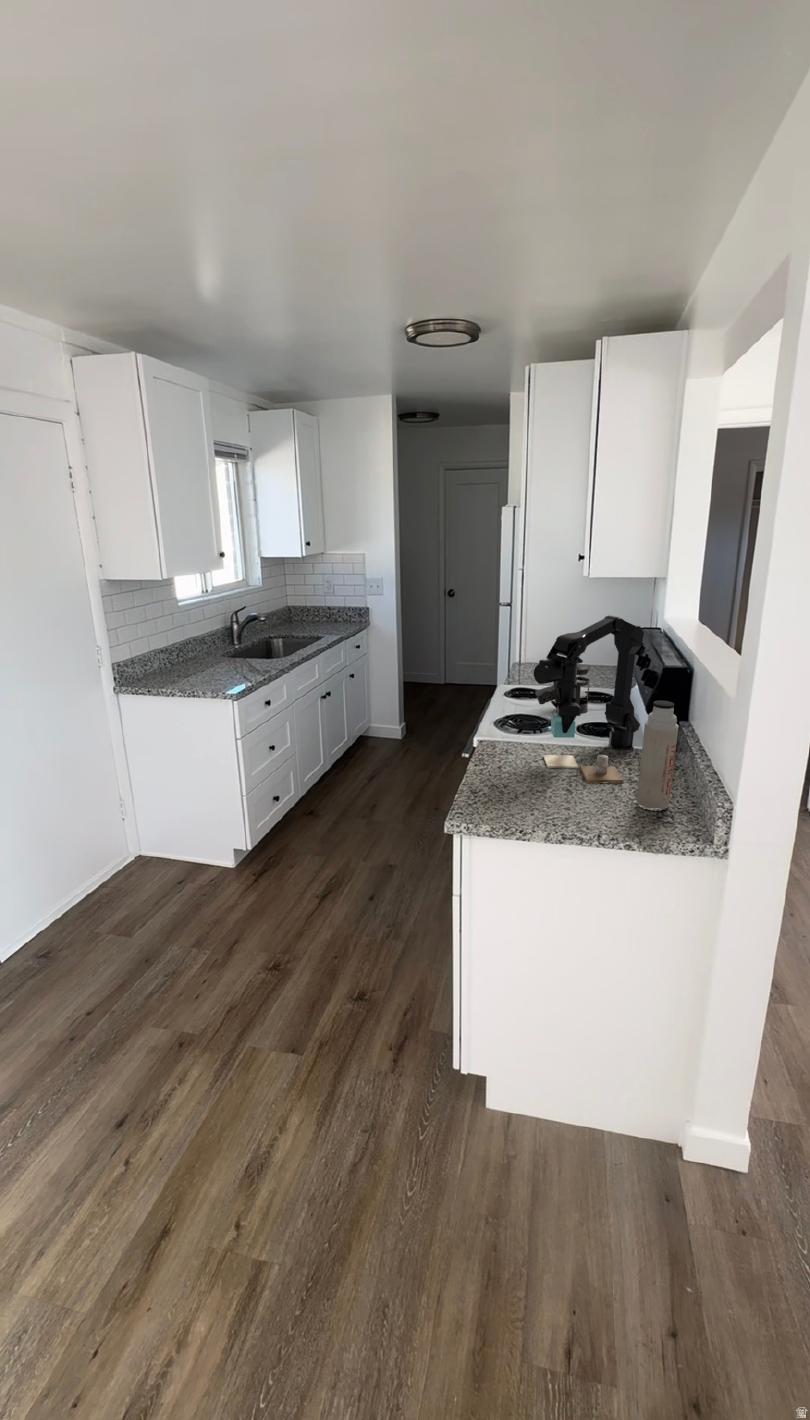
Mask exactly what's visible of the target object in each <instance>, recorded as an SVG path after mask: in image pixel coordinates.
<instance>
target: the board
mask: <svg viewBox="0 0 810 1420" xmlns="http://www.w3.org/2000/svg"><path fill="white" fill-rule="evenodd" d="M542 758H543V761H544V763H545V765H546V769H579V765H578V763H577V762H576V759H575V757H574V755H563V754H561V755H560V754H559V755H558V754H557V755H555V754H544V755H543V756H542Z"/></svg>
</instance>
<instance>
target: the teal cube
mask: <svg viewBox="0 0 810 1420" xmlns="http://www.w3.org/2000/svg"><path fill="white" fill-rule="evenodd" d="M550 732H551V735H552V736H553V738H561V739H562V738H566V739H567V738H568V739H569V738H573V739H574V738H575V733H576V719H575V720H574V721H573V723H572V724H571V726H570V728H569V730H568V731H567V733H563V731H562V723H561V717H560V716H559V715H557V714H552V715H551V721H550Z"/></svg>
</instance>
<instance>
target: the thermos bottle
mask: <svg viewBox="0 0 810 1420" xmlns="http://www.w3.org/2000/svg"><path fill="white" fill-rule="evenodd" d="M652 705H653V708H652V711H651V712H650V713H648V716H647V718H648V719H647V720H646V721H645V722H644V726H643V727H644V728H643V737H642V744H641V745H642V747H641V757H640V765H639V766H640V767H639V775H638V783H637V792H636V793H637V794H636V801H637V802H638V803H639V804H640V805H642V806H644V807H647V808H666V807H668V806H669V807H670V799H671V790H672V783H673V774H674V767H675V759H676V751H677V743H678V735H679V727H680V726H679V725H678V724H677V722H678V719H677V718H678V717H677V716H676V714H674V711H675V709H674V707H675V703H674V702H671V701H668V700H655V701H653V704H652Z"/></svg>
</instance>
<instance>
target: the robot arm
mask: <svg viewBox="0 0 810 1420" xmlns="http://www.w3.org/2000/svg"><path fill="white" fill-rule="evenodd" d="M610 634H611V635H613V641H614V645H615V646H614V647H615V648H616V650H617V652H618V653H617V660H616V661H617V663H616V672H615V682H614V689H613V690H614V691H613V698H612V699H611V700H610V701H609V702H608V701H607V702H606V703H605V711H604V715H605V719H606V723H607V726H608V727H611V730H610V731H609V738H608V743H609V745H610V746H611V748H612V749H613V750H634V749H635V747H634V746H633V744H634V736H635V735H634V734H635V733H636V732H637V731H639V729H640V726H641V723H640V722H639V721H638V719H637V718H636V717H635V707H634V705H633V702H632V700H631V693H632V686H633V684H632V683H633V677H634V676H633V674H634V669H635V658H636V653H637V652H638V651H639V650H640V648H641V647H642V646H643V645H642V644H643V640H644V637H645V631H644V629H643V628H642V627H641V626H640V625H635V624H632V623H630V622H628V621H626V620H625V619H623V618H621V617H620V616H615V615H610V614H609V615H606V616H604V618H603V619H600V620H599V621H597V622H595V623H593V624H591V625H589V626H587V627H586V628H583V629H581V630H579V631H577V632H569V633H565V634H561V635H558V637H556V639H555V641H554V644H553V645H552V647H551V649H550V650H549V652H548V654H547V656H546V659H540V660H539V661H538V664H536V666H535V668H534V670H533V677H534V680H535V681H536V683H538V684H539V685H544V684H549V683H552V684H553V685H550V686H547V687H543V688H541V689H537V690H535V696H536V699H537V702H538V704H539V705H544V704H546V703H549V702H551V704H552V706H554V708H555V709H556V715H559V716H560V717H561V723H562V731H563V733H567V731H568V730H569V728H570V726H571V724H572V723H573V721H574V720H575V721H576V719H577V717H581V708H580V707H579V705H578V704H577V703H571V702H572V701H576V697H575V689H576V688H577V683H576V677H577V675H576V674H577V664H578V663H579V664H583V662H584V660H583V659H582V658H580V657H579V655H580V656H581V655H582V654H584V653H583V652H584V651H585V652H586V651H587V647H588V646H590V645H592V644H593V643H596V642H597V641H599V640H601V639H602V638H605V637H606V636H608V635H610Z"/></svg>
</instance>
